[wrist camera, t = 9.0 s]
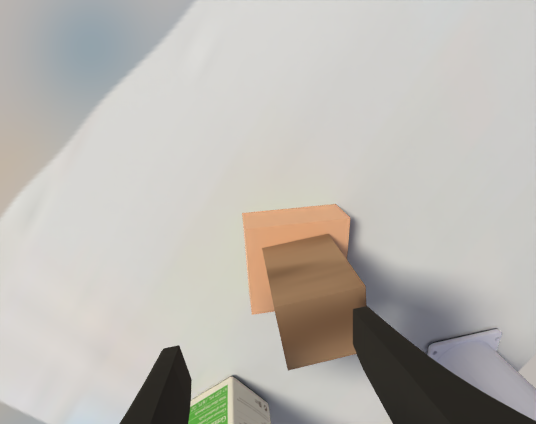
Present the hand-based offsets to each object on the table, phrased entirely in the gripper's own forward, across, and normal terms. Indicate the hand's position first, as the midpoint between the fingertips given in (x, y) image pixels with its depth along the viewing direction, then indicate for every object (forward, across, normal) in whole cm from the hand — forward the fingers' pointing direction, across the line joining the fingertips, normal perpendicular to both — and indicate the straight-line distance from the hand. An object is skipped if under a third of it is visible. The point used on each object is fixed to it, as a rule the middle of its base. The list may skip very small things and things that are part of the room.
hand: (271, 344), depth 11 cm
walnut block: (+7, -3, +2) cm, 8 cm away
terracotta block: (+10, -3, +2) cm, 11 cm away
